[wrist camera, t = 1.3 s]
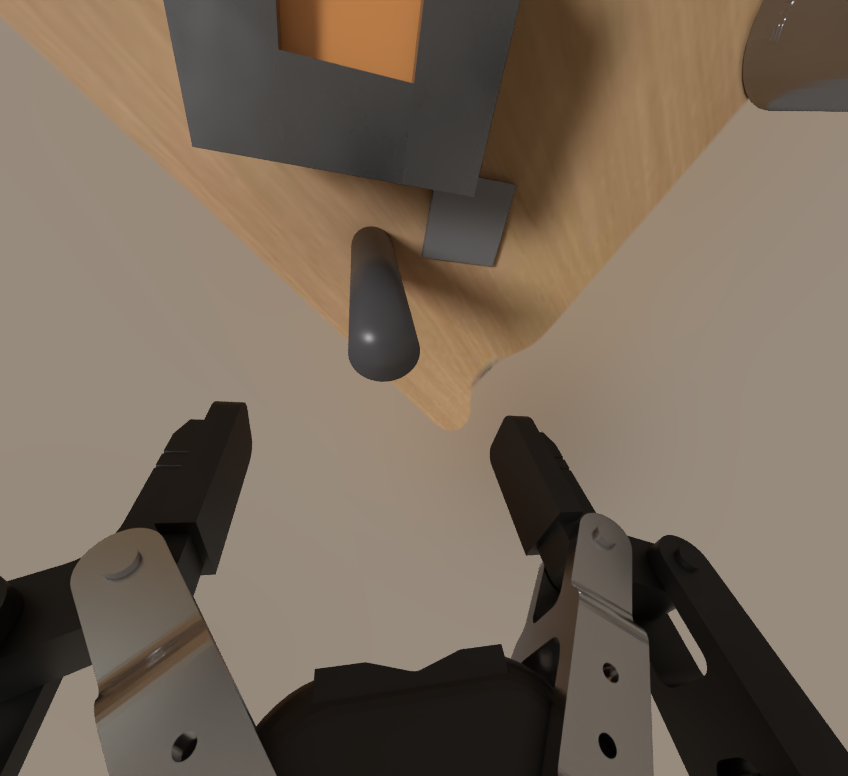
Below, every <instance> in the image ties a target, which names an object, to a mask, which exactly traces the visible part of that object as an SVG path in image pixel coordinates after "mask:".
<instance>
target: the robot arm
mask: <svg viewBox="0 0 848 776" xmlns="http://www.w3.org/2000/svg"><path fill="white" fill-rule="evenodd" d="M743 82H744V87H745V92H746V94H747V95H748V97H749V99H750V101H751V102H752V103H753V104H754V105H756V106H757V107H758V108H761V109H764V110H768V111H831V112H834V111H836V112H841V111H842V112H848V0H764V1H763V3H762V5H761V7H760V9H759V12H758V14H757V16H756V18H755V20H754V23H753V26H752V29H751V32H750V35H749V38H748V41H747V45H746V50H745V55H744V60H743ZM251 452H252V437H251V430H250V424H249V418H248V410H247V406H246V404H245V403H243V402H219V401H215V402H214V403H213V404H212V405H211V407H210V409H209V411H208V413H207V415H206V417H205V419H204V420H193V419H191V420H189V421H188V422H187V423H186V424H184V425H183V426H182V427H181V428H179V429H178V430H177V431H176V432H175V433H174V434H173V435H172V437H171V439H170V441H169V442H168V444H167V446H166V448H165V449H164V454H162V455H161V457H160V458H159V460H158V462H157V464H156V468H154V469H153V471H152V473H151V475H150V476H149V478H148V480H147V482H146V483H145V485H144V487H143V489H142V491H141V492H140V494H139V496H138V498H137V499H136V501H135V503H134V505H133V506H132V508H131V510H130V512H129V514H128V515H127V517H126V519H125V521H124V522H123V524H122V525H121V527H120V528H119V530H118V531H117V532H116V533H115V534H113V535H110V536H109V537H107V538H105V539H103V540H102V541H100V542H99V543H97V544H96V545H94V546H93V547H92V548H91V549H89V550H88V551H87V552H86V554H84V555H83V557H82V558H79V559H77V560H75V561H72V562H69V563H67V564H64V565H60V566H57V567H54V568H50V569H47V570H44V571H41V572H37V573H34V574H30V575H27V576H24V577H20V578H17V579H13V580H10V581H6V580H4V579H3V578H2V577H1V576H0V776H18V774H19V772H20V769H21V767H22V765H23V763H24V761H25V759H26V757H27V754H28V752H29V750H30V748H31V746H32V743H33V741H34V739H35V737H36V735H37V733H38V730H39V728H40V726H41V724H42V722H43V720H44V717H45V715H46V713H47V711H48V709H49V707H50V704H51V702H52V700H53V698H54V695H55V693H56V691H57V689H58V687H59V685H60V683H61V680H62V678H63V676H66V675H68V674H71V673H73V672H75V671H78V670H80V669H82V668H85V667H88V666H90V665H93V669H94V672H95V676H96V679H97V683H98V688H99V695H98V698H97V699H96V700H95V704H94V715H95V721H96V726H97V731H98V735H99V738H100V742H101V746H102V750H103V753H104V757H105V761H106V765H107V768H108V772H109V776H653V748H652V747H653V746H652V718H651V694H652V696H653V698H654V701H655V703H656V705H657V707H658V709H659V711H660V713H661V716H662V718H663V720H664V722H665V724H666V727H667V729H668V731H669V733H670V735H671V737H672V740H673V742H674V744H675V746H676V748H677V750H678V753H679V755H680V757H681V759H682V761H683V763H684V765H685V768H686V770H687V772H688V774H689V776H848V752H847V750H846V749H845V748H844V746H843V745H842V743H841V742H840V741H839V739H838V738H837V737H836V735H835V734H834V733H833V731H832V730H831V728H830V727H829V726H828V724H827V723H826V722H825V720H824V719H823V718H822V716H821V715H820V713H819V712H818V711H817V709H816V708H815V707H814V705H813V704H812V702H811V701H810V700H809V698H808V697H807V696H806V694H805V693H804V691H803V690H802V689H801V687H800V686H799V685H798V683H797V682H796V681H795V679H794V678H793V676H792V675H791V674H790V672H789V671H788V669H787V668H786V667H785V665H784V664H783V663H782V661H781V660H780V659H779V657H778V656H777V654H776V653H775V652H774V650H773V649H772V648H771V646H770V645H769V643H768V642H767V641H766V639H765V638H764V637H763V635H762V634H761V632H760V631H759V630H758V628H757V627H756V626H755V624H754V623H753V622H752V620H751V619H750V617H749V616H748V615H747V614H746V612H745V611H744V609H743V608H742V606H741V605H740V604H739V603H738V601H737V600H736V598H735V597H734V595H733V594H732V593H731V592H730V590H729V589H728V587H727V586H726V584H725V583H724V582H723V580H722V579H721V578H720V576H719V575H718V573H717V572H716V571H715V570H714V568H713V567H712V565H711V564H710V563H709V561H708V560H707V559H706V558H705V556H704V555H703V554H702V553H701V552H700V551H699V550H698V549H697V548H696V547H695V546H693V545H692V544H691V543H689V542H688V541H685V540H684V539H682V538H679V537H677V536H673V535H666V536H663V537H662V538H661V539H660V540H658V541H657V542H656V543H655V544H654V543H650V542H647V541H643V540H640V539H636V538H633V537H630V536H627V535H626V533H625V532H624V531H623V529H621V527H620V526H619V525H618V524H617V523H615V522H614V521H613V520H611V519H610V518H608V517H606V516H604V515H601V514H598V513H596V512H595V510H594V509H593V507H592V506H591V504H590V502H589V500H588V499H587V497H586V495H585V494H584V492H583V490H582V489H581V487H580V485H579V484H578V482H577V480H576V479H575V477H574V475H573V473H572V472H571V471H570V470H569V467H568V465H567V463H566V462H565V460H563V456H562V455H561V453H560V451H559V450H558V448H557V446H556V445H555V444H554V442H552V441H551V440H550V439H549V438H548V437H547V436H546V435H545V434H544V433H542V432H539V431H538V429H537V427H536V425H535V424H534V422H533V420H532V419H531V418H530V417H525V416H506V417H505V418H504V420H503V422H502V424H501V426H500V428H499V430H498V433H497V435H496V437H495V439H494V441H493V443H492V445H491V448H490V461H491V465H492V467H493V470H494V472H495V475H496V478H497V480H498V483H499V486H500V488H501V491H502V493H503V496H504V499H505V502H506V504H507V507H508V509H509V512H510V515H511V517H512V520H513V523H514V525H515V528H516V531H517V533H518V536H519V538H520V541H521V544H522V546H523V549H524V551H525V554H526V555H540V556H541V558H542V561H543V562H542V564H541V565H540V567H539V571H538V575H537V579H536V583H535V587H534V591H533V596H532V600H531V604H530V608H529V612H528V617H527V620H526V624H525V627H524V630H523V632H522V634H521V636H520V638H519V639H518V641H517V643H516V646H515V649H514V651H513V654H512V657H511V659H510V658H507V657H505V656H504V652H503V649H502V645H501V644H498V645H491V646H483V647H476V648H468V649H462V650H458V651H456V652H455V653H453V654H451V655H449V656H447V657H445V658H443V659H441V660H439V661H437V662H435V663H433V664H431V665H429V666H427V667H425V668H423V669H422V670H419V671H407V670H402V669H397V668H392V667H387V666H381V665H377V664H371V663H366V662H365V663H357V664H351V665H343V666H336V667H328V668H320V669H315V675H314V681H312V682H310V683H308V684H305V685H304V686H302V687H300V688H299V689H297V690H295V691H294V692H292V693H291V694H289V695H288V696H287V697H286V698H284V699H283V700H282V701H281V702H279V703H278V704H277V705H276V706H275V707H274V708H273V709H272V710H271V711H270V712H269V713H268V714H267V715H266V716H265V717H264V718H263V719H262V720H261V721H260V723H259V724H258V725H257V726H256V725H255V723H254V721H253V719H252V717H251V715H250V713H249V711H248V709H247V707H246V704H245V703H244V700H243V698H242V696H241V694H240V692H239V690H238V688H237V686H236V684H235V682H234V680H233V678H232V676H231V674H230V672H229V670H228V668H227V666H226V663H225V661H224V659H223V657H222V655H221V653H220V651H219V649H218V647H217V645H216V643H215V641H214V639H213V636H212V634H211V632H210V630H209V628H208V626H207V624H206V622H205V620H204V618H203V616H202V614H201V612H200V609H199V608H198V605H197V604H196V601H195V599H194V597H193V596H194V593H195V590H196V587H197V584H198V581H199V578H200V575H212V574H216V571H217V567H218V564H219V561H220V558H221V555H222V551H223V548H224V545H225V541H226V538H227V534H228V531H229V528H230V525H231V521H232V518H233V515H234V512H235V508H236V504H237V501H238V498H239V495H240V492H241V488H242V485H243V482H244V478H245V475H246V472H247V468H248V465H249V462H250V458H251ZM675 608H676V609H677V611H678V612H679V614H680V616H681V618H682V619H683V621H684V623H685V624H686V626H687V628H688V629H689V631H690V633H691V634H692V636H693V638H694V639H695V641H696V643H697V644H698V646H699V648H700V650H701V651H702V653H703V655H704V657H705V659H706V663H707V673H706V675H705V676H704V675H703V674H702V673H701V671H700V670H699V668H698V666H697V665H696V663H695V661H694V659H693V657H692V656H691V654H690V652H689V650H688V649H687V647H686V645H685V643H684V642H683V640H682V638H681V636H680V635H679V633H678V631H677V629H676V628H675V626H674V624H673V622H672V621H671V619H670V617H669V615H668V614H667V613H669V612H670V611H672V610H674V609H675Z"/></svg>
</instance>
